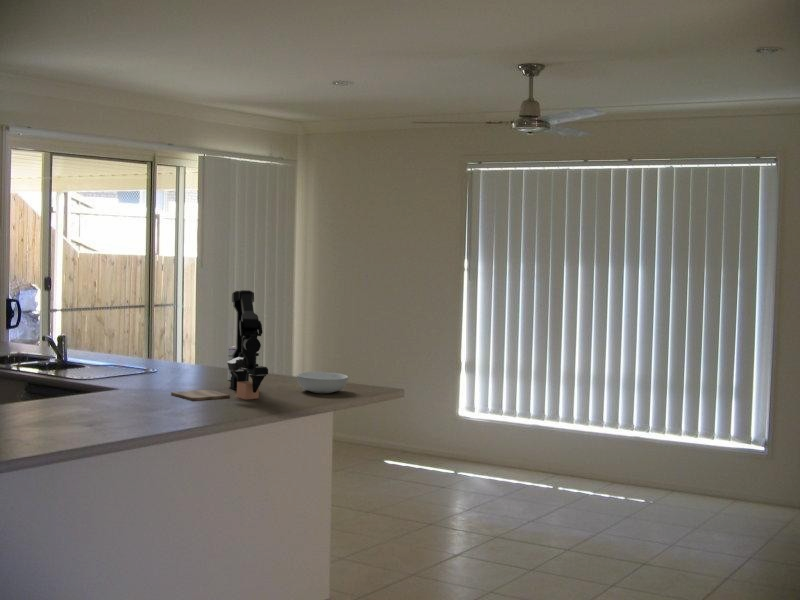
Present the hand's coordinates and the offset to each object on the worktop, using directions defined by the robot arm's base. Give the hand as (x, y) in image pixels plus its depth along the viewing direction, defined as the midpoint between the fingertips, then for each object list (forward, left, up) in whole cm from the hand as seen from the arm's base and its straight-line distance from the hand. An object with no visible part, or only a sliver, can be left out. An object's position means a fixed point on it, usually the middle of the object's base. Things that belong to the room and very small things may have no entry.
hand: (247, 390), depth 358 cm
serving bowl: (-35, +1, -3) cm, 35 cm away
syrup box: (-22, -43, -3) cm, 48 cm away
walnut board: (+14, -11, -3) cm, 18 cm away
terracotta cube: (0, 0, -3) cm, 3 cm away
